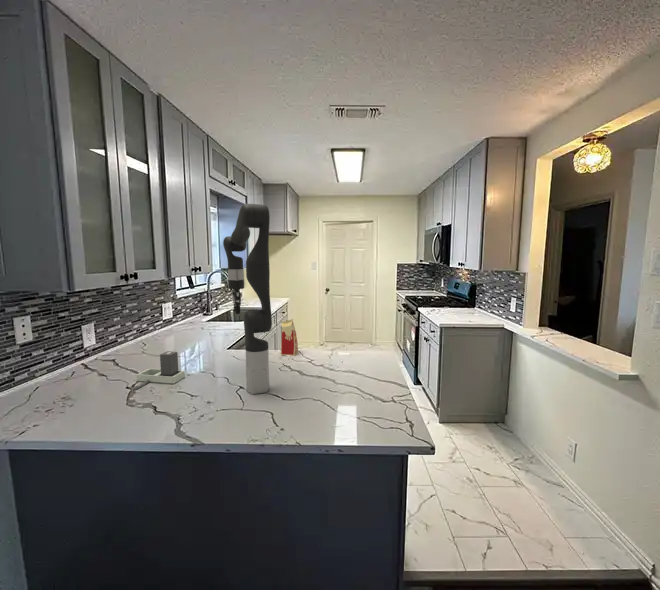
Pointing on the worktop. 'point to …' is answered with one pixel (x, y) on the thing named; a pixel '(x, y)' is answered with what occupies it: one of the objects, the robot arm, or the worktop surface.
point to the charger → (169, 363)
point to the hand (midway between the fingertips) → (237, 312)
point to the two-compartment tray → (157, 377)
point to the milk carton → (289, 339)
